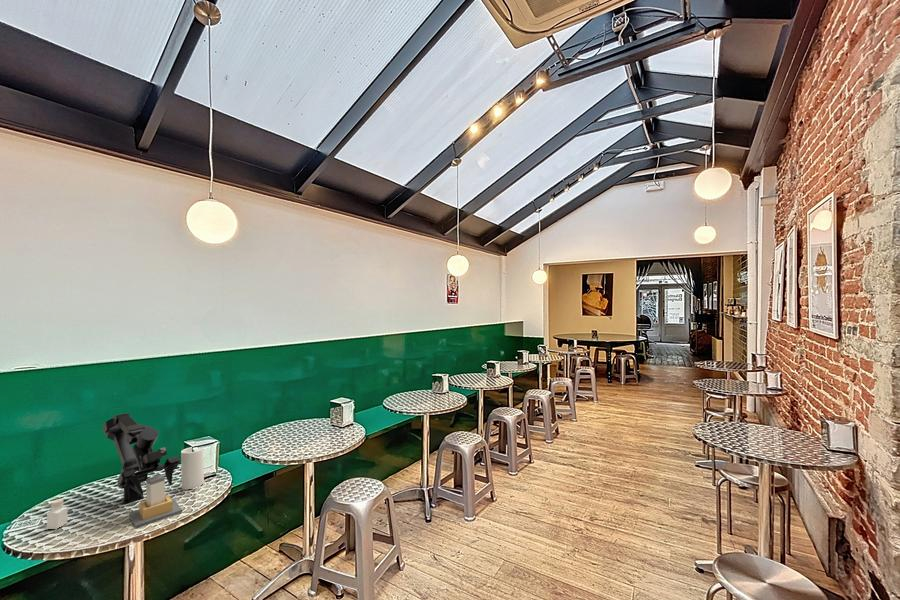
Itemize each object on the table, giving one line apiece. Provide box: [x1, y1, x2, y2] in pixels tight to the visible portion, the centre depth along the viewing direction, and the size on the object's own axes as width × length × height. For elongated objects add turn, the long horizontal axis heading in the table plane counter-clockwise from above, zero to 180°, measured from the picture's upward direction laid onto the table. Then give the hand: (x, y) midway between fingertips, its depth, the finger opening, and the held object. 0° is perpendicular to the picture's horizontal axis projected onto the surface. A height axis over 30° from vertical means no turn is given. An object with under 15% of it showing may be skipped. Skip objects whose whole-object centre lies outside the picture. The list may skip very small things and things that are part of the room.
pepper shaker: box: [46, 498, 68, 530], centre depth 140 cm, size 4×4×10 cm
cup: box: [180, 446, 205, 491], centre depth 170 cm, size 8×8×16 cm
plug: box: [145, 474, 166, 508], centre depth 147 cm, size 4×4×12 cm
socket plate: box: [128, 493, 183, 529], centre depth 147 cm, size 14×14×4 cm
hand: (157, 489), depth 146 cm, fingers open, 9 cm apart
